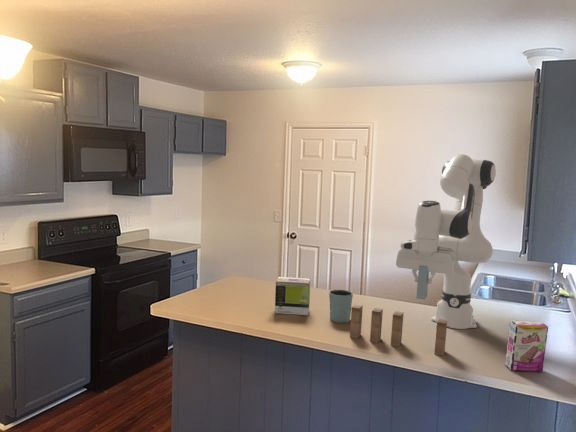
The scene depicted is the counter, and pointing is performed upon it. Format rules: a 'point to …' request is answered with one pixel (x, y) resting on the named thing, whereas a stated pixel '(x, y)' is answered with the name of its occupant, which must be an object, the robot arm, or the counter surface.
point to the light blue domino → (422, 282)
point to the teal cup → (340, 305)
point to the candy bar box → (526, 346)
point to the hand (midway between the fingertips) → (422, 282)
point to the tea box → (292, 295)
